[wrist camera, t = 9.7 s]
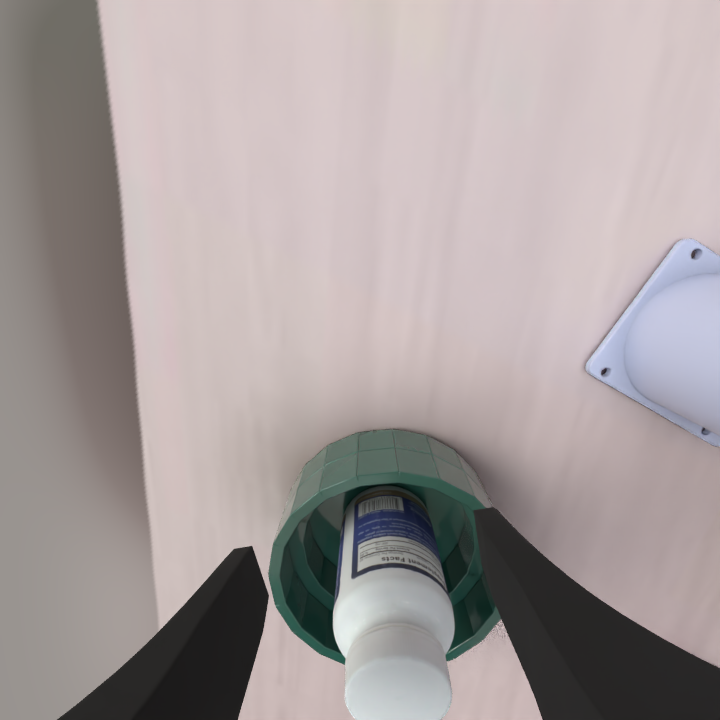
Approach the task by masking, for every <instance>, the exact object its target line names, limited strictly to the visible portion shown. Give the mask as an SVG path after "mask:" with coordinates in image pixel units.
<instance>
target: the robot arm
mask: <svg viewBox="0 0 720 720" xmlns="http://www.w3.org/2000/svg"><path fill="white" fill-rule="evenodd" d="M694 250H695V256H694V258H692V257H691V253H692V251H694ZM604 368H606V373H604V374H603V375H601V371H602V370H603V369H604ZM585 369H586V372H587V373H588V374H590V375H592V376H593V377H595V378H597V379H599V380H600V381H602V382H604V383H605V384H607V385H609V386H611V387H612V388H614V389H616V390H618V391H619V392H621V393H623V394H625V395H626V396H628V397H630V398H631V399H633V400H635V401H637V402H638V403H640V404H642V405H644V406H645V407H647V408H649V409H650V410H652V411H654V412H656V413H657V414H659V415H661V416H663V417H664V418H666V419H668V420H669V421H671V422H673V423H675V424H676V425H678V426H680V427H682V428H683V429H685V430H687V431H689V432H690V433H692V434H694V435H695V436H697V437H699V438H701V439H702V440H704V441H706V442H708V443H709V444H711V445H713V446H716V447H717V446H720V256H719V255H717V254H716V253H714V252H713V251H711V250H710V249H708V248H707V247H705V246H704V245H702V244H701V243H699V242H698V241H696V240H694V239H682V240H680V241H678V242H677V243H676V244H675V245H674V247H673V248H672V249H671V251H670V252H669V253H668V255H667V256H666V257H665V259H664V260H663V261H662V263H661V264H660V265H659V267H658V268H657V269H656V271H655V272H654V273H653V275H652V276H651V277H650V279H649V280H648V281H647V283H646V284H645V285H644V287H643V288H642V289H641V291H640V292H639V293H638V295H637V296H636V297H635V299H634V300H633V301H632V303H631V304H630V305H629V307H628V308H627V309H626V311H625V312H624V313H623V315H622V316H621V318H620V319H619V320H618V322H617V323H616V324H615V326H614V327H613V328H612V330H611V331H610V332H609V334H608V335H607V336H606V338H605V339H604V340H603V342H602V343H601V344H600V346H599V347H598V348H597V350H596V351H595V352H594V354H593V355H592V356H591V358H590V359H589V360H588V362H587V364H586V367H585ZM703 428H705V429H704V430H703V431H702V429H703ZM473 511H474V517H475V524H476V531H477V537H478V544H479V551H480V558H481V564H482V567H483V570H484V573H485V576H486V580H487V583H488V586H489V589H490V592H491V595H492V598H493V600H494V603H495V605H496V607H497V610H498V612H499V614H500V617H501V619H502V621H503V624H504V626H505V628H506V630H507V633H508V635H509V637H510V640H511V642H512V644H513V647H514V649H515V651H516V653H517V656H518V658H519V660H520V663H521V665H522V667H523V669H524V672H525V674H526V676H527V679H528V681H529V684H530V686H531V689H532V691H533V694H534V696H535V699H536V702H537V704H538V707H539V710H540V713H541V716H542V719H543V720H720V668H718V667H716V666H714V665H712V664H710V663H708V662H706V661H704V660H702V659H700V658H698V657H696V656H694V655H692V654H690V653H688V652H687V651H685V650H683V649H681V648H679V647H677V646H675V645H673V644H672V643H670V642H668V641H666V640H664V639H662V638H661V637H659V636H657V635H656V634H654V633H652V632H651V631H649V630H647V629H646V628H644V627H642V626H641V625H639V624H637V623H636V622H634V621H632V620H631V619H629V618H627V617H626V616H624V615H622V614H621V613H619V612H618V611H616V610H615V609H613V608H612V607H610V606H609V605H607V604H606V603H604V602H603V601H601V600H600V599H599V598H597V597H596V596H594V595H593V594H592V593H590V592H589V591H587V590H586V589H585V588H583V587H582V586H581V585H579V584H578V583H577V582H575V581H574V580H573V579H571V578H570V577H569V576H568V575H566V574H565V573H564V572H563V571H562V570H560V569H559V568H558V567H557V566H555V565H554V564H553V563H552V562H551V561H549V560H548V559H547V558H546V557H545V556H544V555H543V554H541V553H540V552H539V551H538V550H537V549H536V548H535V547H534V546H533V545H532V544H530V543H529V542H528V541H527V540H526V539H525V538H524V537H523V536H522V535H521V534H520V533H519V532H518V531H517V530H516V529H515V528H514V527H513V526H512V525H511V524H510V523H509V522H508V521H507V520H506V519H505V518H504V517H503V516H502V515H501V514H500V512H499V511H498V510H497V509H495V508H494V507H490V508H484V509H478V510H473ZM268 598H269V595H268V592H267V589H266V586H265V583H264V580H263V577H262V574H261V571H260V568H259V565H258V562H257V559H256V556H255V553H254V550H253V547H252V546H249V547H243V548H237V549H234V550H233V551H232V552H231V553H230V554H229V555H228V556H227V557H226V558H225V559H224V561H223V562H222V563H221V564H220V565H219V566H218V567H217V569H216V570H215V571H214V572H213V573H212V574H211V575H210V577H209V578H208V579H207V580H206V581H205V582H204V583H203V585H202V586H201V587H200V588H199V589H198V590H197V591H196V592H195V594H194V595H193V596H192V597H191V598H190V599H189V600H188V601H187V602H186V604H185V605H184V606H183V607H182V608H181V609H180V610H179V611H178V612H177V613H176V614H175V615H174V616H173V617H172V618H171V619H170V620H169V621H168V623H167V624H166V625H165V626H164V627H163V628H162V629H161V630H160V631H159V632H158V633H157V634H156V635H155V636H154V637H153V638H152V639H151V640H150V641H149V642H148V643H147V644H146V645H145V646H144V647H143V648H142V649H141V650H140V651H138V652H137V653H136V654H135V655H134V656H133V657H132V658H131V659H130V660H129V661H128V662H126V663H125V664H124V665H123V666H122V667H121V668H120V669H119V670H118V671H116V673H114V674H113V675H112V676H111V677H109V678H108V679H107V680H106V681H105V682H104V683H102V684H101V685H100V686H99V687H97V688H96V689H95V690H94V691H93V692H91V693H90V694H89V695H88V696H87V697H85V698H84V699H83V700H82V701H81V702H79V703H78V704H77V705H76V706H74V707H73V708H72V709H71V710H69V711H68V712H67V713H65V714H64V715H63V716H61V717H60V718H59V719H57V720H238V716H239V713H240V710H241V706H242V703H243V699H244V696H245V692H246V689H247V685H248V682H249V679H250V675H251V672H252V668H253V665H254V661H255V658H256V654H257V651H258V647H259V644H260V640H261V636H262V633H263V628H264V622H265V617H266V611H267V604H268Z"/></svg>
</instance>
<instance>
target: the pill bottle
mask: <svg viewBox="0 0 720 720" xmlns="http://www.w3.org/2000/svg"><path fill="white" fill-rule="evenodd" d="M454 630H455V622H454V614H453V609H452V603H451V600H450V596H449V592H448V589H447V585H446V580H445V577H444V573H443V568H442V564H441V559H440V555H439V551H438V547H437V543H436V539H435V535H434V531H433V527H432V523H431V520H430V517H429V513H428V511H427V509H426V507H425V505H424V504H423V502H422V501H421V500H420V499H419V498H418V497H417V496H416V495H414V494H413V493H411V492H410V491H408V490H405V489H403V488H400V487H395V486H377V487H374V488H370V489H367V490H365V491H363V492H361V493H359V494H358V495H357V496H356V497H355V498H354V499H353V500H352V501H351V502H350V504H349V505H348V506H347V508H346V510H345V513H344V515H343V520H342V526H341V533H340V546H339V558H338V569H337V579H336V590H335V599H334V609H333V631H334V636H335V640H336V643H337V645H338V647H339V649H340V651H341V653H342V654H343V656H344V657H345V658H346V661H345V701H346V705H347V708H348V710H349V712H350V713H351V715H352V716H353V717H354V718H355V719H356V720H441V719H442V718H443V717H444V716H445V715H446V713H447V712H448V710H449V708H450V705H451V701H452V689H451V682H450V677H449V671H448V667H447V661H446V656H445V655H446V653H447V652H448V650H449V648H450V646H451V643H452V641H453V637H454Z"/></svg>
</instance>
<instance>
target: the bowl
mask: <svg viewBox="0 0 720 720" xmlns="http://www.w3.org/2000/svg"><path fill="white" fill-rule="evenodd" d="M377 486H395V487H400V488H403V489H405V490H408V491H410V492H411V493H413V494H414V495H416V496H417V497H418V498H419V499H420V500H421V501H422V502H423V504H424V505H425V507H426V509H427V511H428V513H429V517H430V520H431V523H432V527H433V531H434V535H435V539H436V543H437V547H438V551H439V555H440V559H441V564H442V568H443V573H444V577H445V580H446V585H447V589H448V592H449V596H450V600H451V603H452V609H453V614H454V622H455V630H454V637H453V641H452V643H451V646H450V648H449V650H448V652H447V653H446V655H445V656H446V661H450V660H453V658H454V659H455V658H457V657H458V656H460V655H461V654H463V653H464V652H466V651H467V650H469V649H471V648H472V647H474V646H475V645H477V644H478V643H480V642H481V641H482V640H484V638H485V637H486V636H487V635H488V634H489V633H490V631H491V630H492V629H493V628H494V627H495V625H496V624H497V623H498V622H499V621H500V620H501V617H500V614H499V612H498V610H497V607H496V605H495V603H494V600H493V598H492V595H491V592H490V589H489V586H488V583H487V580H486V576H485V573H484V570H483V567H482V564H481V558H480V551H479V544H478V537H477V531H476V524H475V517H474V511H473V510H478V509H484V508H490V507H493V506H492V504H491V502H490V500H489V498H488V496H487V494H486V492H485V490H484V488H483V486H482V484H481V482H480V480H479V478H478V476H477V474H476V472H475V471H474V470H473V469H472V468H471V467H470V466H469V465H468V464H467V462H466V461H465V460H464V459H463V458H462V457H461V456H460V455H459V454H458V453H457V452H456V451H455V450H453V449H452V448H450V447H448V446H446V445H444V444H442V443H440V442H438V441H436V440H434V439H432V438H431V437H429V436H425V435H423V434H418V433H413V432H407V431H402V430H396V429H393V430H392V429H386V430H377V431H367V432H360V433H356V434H353V435H351V436H349V437H346V438H344V439H341V440H339V441H337V442H334V443H332V444H330V445H328V446H327V447H326V448H324V449H323V450H322V451H321V452H320V453H319V454H317V455H316V456H315V457H314V458H313V459H312V460H310V461H309V462H308V463H307V464H306V465H305V466H304V468H303V469H302V471H301V473H300V475H299V476H298V478H297V480H296V481H295V483H294V485H293V487H292V488H291V491H290V494H289V497H288V500H287V503H286V506H285V509H284V512H283V515H282V518H281V521H280V524H279V527H278V530H277V533H276V537H275V540H274V543H273V547H272V553H271V560H270V566H269V572H268V575H269V581H270V585H271V589H272V594H273V598H274V602H275V605H276V608H277V609H278V611H279V612H280V614H281V615H282V617H283V619H284V620H285V622H286V623H287V625H288V626H289V628H290V629H291V631H292V632H293V633H294V634H295V635H297V636H298V637H299V638H300V639H301V640H303V641H304V642H305V643H306V644H308V645H309V646H310V647H311V648H313V649H314V650H315V651H316V652H318V653H319V654H321V655H323V656H326V657H328V658H330V659H333V660H335V661H337V662H339V663H342V664H344V665H345V661H346V658H345V657H344V656H343V654H342V653H341V651H340V649H339V647H338V645H337V643H336V640H335V636H334V631H333V609H334V599H335V590H336V579H337V569H338V558H339V546H340V533H341V526H342V520H343V515H344V513H345V510H346V508H347V506H348V505H349V504H350V502H351V501H352V500H353V499H354V498H355V497H356V496H357V495H358V494H359V493H361V492H363V491H365V490H367V489H370V488H374V487H377Z"/></svg>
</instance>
